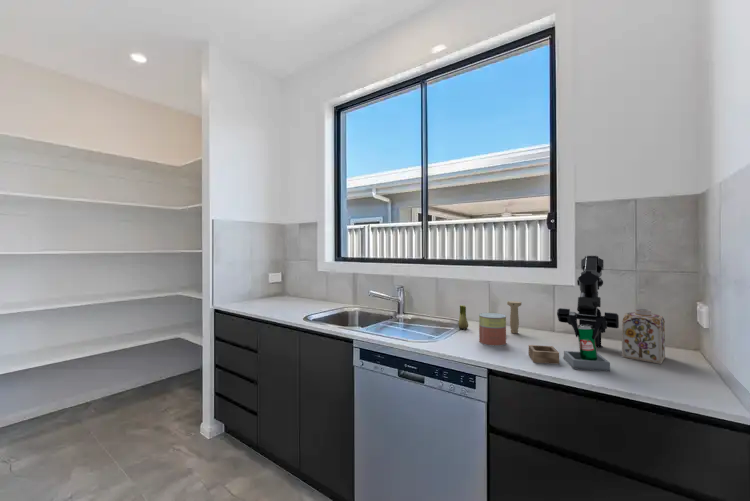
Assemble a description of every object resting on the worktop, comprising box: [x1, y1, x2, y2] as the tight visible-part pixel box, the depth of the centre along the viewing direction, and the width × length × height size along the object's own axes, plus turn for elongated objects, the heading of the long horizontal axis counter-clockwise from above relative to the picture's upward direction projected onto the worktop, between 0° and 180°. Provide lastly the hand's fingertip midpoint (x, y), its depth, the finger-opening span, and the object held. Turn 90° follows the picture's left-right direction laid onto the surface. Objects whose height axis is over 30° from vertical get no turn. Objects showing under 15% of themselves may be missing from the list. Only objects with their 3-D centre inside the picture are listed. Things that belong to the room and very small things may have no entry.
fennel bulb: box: [458, 304, 469, 330], centre depth 176 cm, size 6×5×12 cm
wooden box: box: [528, 344, 560, 365], centre depth 126 cm, size 8×8×4 cm
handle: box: [506, 300, 522, 334], centre depth 166 cm, size 5×6×15 cm
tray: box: [563, 350, 611, 372], centre depth 120 cm, size 11×11×3 cm
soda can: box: [577, 324, 598, 361], centre depth 120 cm, size 5×5×12 cm
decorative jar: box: [621, 308, 666, 365], centre depth 128 cm, size 12×12×18 cm
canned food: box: [478, 312, 507, 347], centre depth 149 cm, size 11×11×12 cm
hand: (585, 337), depth 119 cm, fingers closed on soda can, 5 cm apart
